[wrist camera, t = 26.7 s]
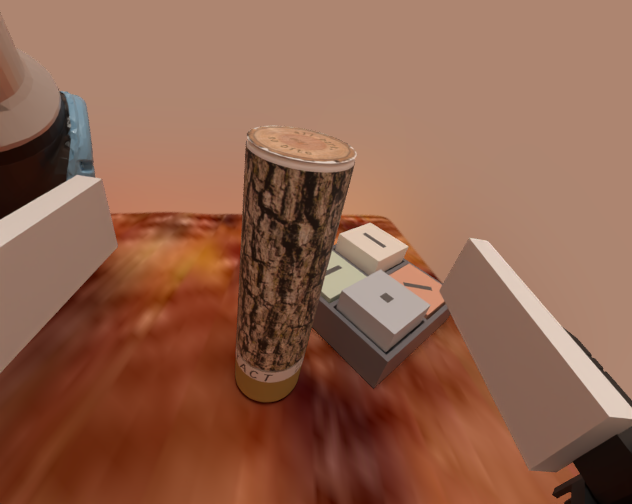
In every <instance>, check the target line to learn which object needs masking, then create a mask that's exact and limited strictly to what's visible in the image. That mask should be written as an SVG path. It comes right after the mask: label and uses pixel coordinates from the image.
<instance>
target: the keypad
mask: <svg viewBox="0 0 632 504" xmlns="http://www.w3.org/2000/svg"><path fill="white" fill-rule="evenodd" d="M336 245H337V244H336ZM336 245H333V248H332V251H333V252H335V253H336V254H337V255H339V256H340V257H341V258H343V259H344V260H345V261H347V262H348V263H349V264H351V265H352V266H353V267H355V268H356V269H357V270H359V271H360V272H361V273H363V274H364V275H365V276H369V275H367V274H366V273H365V272H363V271H362V270H361V269H359V268H358V267H357V266H355V265H354V264H353V263H351V262H350V261H349V260H347V259H346V258H345V257H343V256H342V255H341V254H339V253H338V252H337V251H335V248H336ZM409 263H410V262H408V261H407V260H405V259H404V258H403V260H402V262H401V263H399V264H397V265H396V266H394V267H392V268H390V269H388V270H387V271H385V273H386V274H388V275H390V274H392V273H394V272H395V271H397V270H399V269H401V268H402V267H404V266H406V265H407V264H409ZM410 264H411V263H410ZM411 265H413V264H411ZM413 266H414V267H416V266H415V265H413ZM416 268H417V269H419V268H418V267H416ZM419 270H420V271H422V270H421V269H419ZM422 272H423V273H425V272H424V271H422ZM425 274H426V275H428V274H427V273H425ZM428 276H429V277H431V276H430V275H428ZM431 278H432V279H434V278H433V277H431ZM434 280H435V281H437V280H436V279H434ZM437 282H438V283H440V282H439V281H437ZM440 284H442V283H440ZM442 285H443V284H442ZM338 301H339V299H337V300H335V301H333V302H332V303H330V304H329V303H328V302H327V301H326V300H325V299H324V298H322V297H321V296H320V298H319V302H318V305H317V309H316V313H315V317H314V321H313V325H312V327H313V328H314V329H315V330H316V331H317V332H318V333H319V334H320V335H321V336H322V337H323V338H324V339H325V340H326V341H327V342H328V343H329V344H330V345H331V346H332V347H333V348H334V349H335V350H336V351H337V352H338V353H339V354H340V355H341V356H342V357H343V358H344V359H345V360H346V361H347V362H348V363H349V364H350V365H351V366H352V367H353V368H354V369H355V370H356V371H357V372H358V373H359V374H360V375H361V376H362V377H363V378H364V379H365V380H366V381H367V382H368V383H369V384H370V385H371V386H372V387H373V388H375V387H376V386H377V385H378V384H379V383H380V382H381V381H382V380H383V379H384V378H385V377H386V376H388V375H389V374H390V373H391V372H392V371H393V370H394V369H395V368H396V367H397V366H398V365H399V364H400V363H401V362H402V361H404V360H405V359H406V358H407V357H408V356H409V355H410V354H411V353H412V352H413V351H414V350H415V349H416V348H417V347H418V346H419V345H421V344H422V343H423V342H424V341H425V340H426V339H427V338H428V337H429V336H430V335H431V334H432V333H433V332H434V331H435V330H437V329H438V328H439V327H440V326H441V325H442V324H443V323H444V322H445V321H446V320H447V318H448V317H449V315H450V314H451V313H450V311H449V309H448V307H447V305H446V304H445V305H444V306H443V307H442V308H441V309H439V310H438V311H437V312H436V313H435V314H434V315H432V316H431V317H430V318H429V319H428V320H427V319H426V318H423V320H422V322H421V323H420V324H419V325H417V326H416V327H415V328H414V329H413V330H412V331H410V332H409V333H408V334H407V335H406V336H405V337H403V338H402V339H401V340H400V341H399V342H397V343H396V344H395V345H394V346H393V347H392V348H390V349H389V350H388V351H387V352H386V353H385V352H384V351H383V350H382V349H381V348H380V347H378V346H377V345H376V344H375V343H374V342H373V341H372V340H371V339H369V338H368V337H367V336H366V335H365V334H364V333H363V332H362V331H360V330H359V329H358V328H357V327H356V326H355V325H354V324H353V323H352V322H350V321H349V320H348V319H347V318H346V317H345V316H344V315H343V314H341V313H340V312H339V311H338V310H337V309H336V307H337V304H338Z"/></svg>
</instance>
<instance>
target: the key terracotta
mask: <svg viewBox="0 0 632 504" xmlns="http://www.w3.org/2000/svg"><path fill="white" fill-rule="evenodd" d="M389 276H391V277H392V278H393V279H395V280H396V281H398V282H399V283H400V284H402V285H403V286H405V287H406V288H407V289H409V290H410V291H412V292H413V293H414V294H416V295H417V296H419V297H420V298H421V299H423V300H424V301H426V302H427V303H428V304H430V305H431V306H430V308H429V309H428V311H427V313H426V315H425V316H424V318H426V319H427V320H428V319H429V318H430V317H431V316H432V315H434V314H435V313H436V312H437V311H438V310H439V309H441V308H442V307H443V306H444V305H445V304H446V303H445V301H444V299H443V297H442V295H441V293H440V291H439V290H440V288H441V286H442V284H440V283H438V282H437V281H435V280H434V279H432V278H431V277H429V276H428V275H426V274H425V273H423V272H422V271H420V270H419V269H417V268H416V267H414V266H413V265H411V264H410V263H409V264H407V265H406V266H404V267H402V268H401V269H399V270H397V271H395V272H394V273H392V274H390V275H389Z"/></svg>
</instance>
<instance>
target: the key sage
mask: <svg viewBox="0 0 632 504" xmlns="http://www.w3.org/2000/svg"><path fill="white" fill-rule="evenodd" d="M366 277H367V276H365V275H364V274H363V273H361V272H360V271H359V270H357V269H356V268H355V267H353V266H352V265H351V264H349V263H348V262H347V261H345V260H344V259H343V258H341V257H340V256H339V255H337V254H336V253H335V252H333V251H332V252H331V256H330V260H329V264H328V267H327V271H326V275H325V279H324V283H323V286H322V290H321V294H320V296H321V297H322V298H324V299H325V300H326V301H327V302H328V303H329V304H330V303H332V302H333V301H335V300H337V299H339V298H340V294H341V291H342V290H343V289H345V288H347V287H349V286H351V285H353V284H354V283H356V282H358V281H360V280H362V279H364V278H366Z"/></svg>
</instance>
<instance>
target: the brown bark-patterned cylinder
mask: <svg viewBox="0 0 632 504" xmlns="http://www.w3.org/2000/svg"><path fill="white" fill-rule="evenodd" d="M247 137H248V139H247V141H246V154H245V175H244V194H243V214H242V235H241V255H240V276H239V296H238V317H237V337H236V363H235V378H236V382H237V385H238V387H239V388H240V390H241V391H242V392H243V393H244V394H245V395H246V396H247V397H249V398H251V399H253V400H255V401H259V402H274V401H277V400H280V399H282V398H284V397H285V396H287V395H288V394H289V393H290V392H291V391H292V390H293V388H294V387H295V385H296V383H297V380H298V377H299V373H300V369H301V365H302V362H303V359H304V355H305V351H306V347H307V344H308V340H309V336H310V332H311V328H312V325H313V321H314V317H315V313H316V309H317V305H318V302H319V298H320V294H321V290H322V286H323V283H324V279H325V275H326V271H327V267H328V264H329V260H330V256H331V252H332V248H333V245H334V241H335V237H336V233H337V229H338V226H339V222H340V218H341V214H342V210H343V206H344V203H345V199H346V195H347V191H348V188H349V184H350V180H351V176H352V172H353V168H354V165H355V157H356V155H357V154H356V151H355V150H354V149H353V148H352V147H351V146H350V145H348V144H347V143H345V142H343V141H341V140H339V139H337V138H334V137H332V136H329V135H326V134H323V133H319V132H315V131H311V130H307V129H301V128H295V127H286V126H263V127H257V128H253V129H251V130H250V131H248V133H247Z"/></svg>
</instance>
